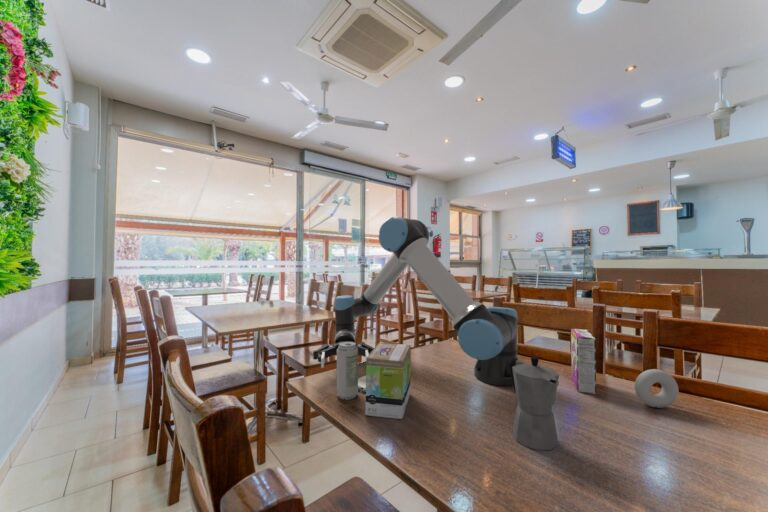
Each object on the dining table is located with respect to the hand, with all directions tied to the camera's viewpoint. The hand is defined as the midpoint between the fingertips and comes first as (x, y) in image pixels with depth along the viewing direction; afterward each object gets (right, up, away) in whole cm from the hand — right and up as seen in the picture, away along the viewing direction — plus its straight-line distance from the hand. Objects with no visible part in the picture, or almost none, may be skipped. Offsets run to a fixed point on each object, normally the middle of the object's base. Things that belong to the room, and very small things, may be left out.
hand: (345, 362), depth 97 cm
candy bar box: (+72, -8, +2) cm, 73 cm away
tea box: (+13, -9, -9) cm, 18 cm away
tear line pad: (+7, -8, +4) cm, 12 cm away
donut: (+83, -8, -11) cm, 85 cm away
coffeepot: (+44, -9, -25) cm, 52 cm away
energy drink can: (+1, -9, -4) cm, 10 cm away
